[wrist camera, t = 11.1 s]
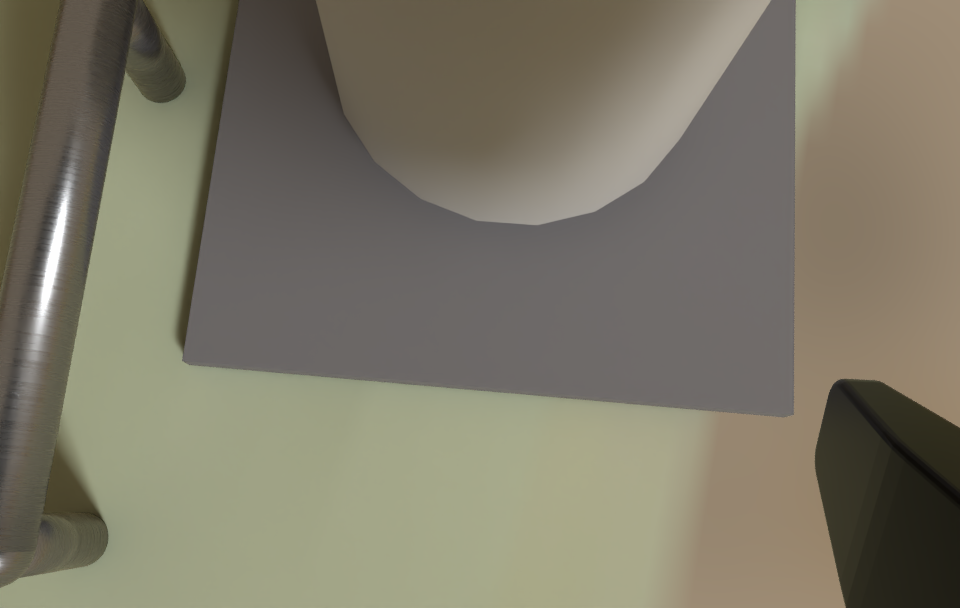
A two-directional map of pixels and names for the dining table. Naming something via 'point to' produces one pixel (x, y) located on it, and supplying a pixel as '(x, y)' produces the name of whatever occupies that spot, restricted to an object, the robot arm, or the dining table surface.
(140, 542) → the dining table surface
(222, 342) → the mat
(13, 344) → the rail
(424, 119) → the can
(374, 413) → the dining table surface
